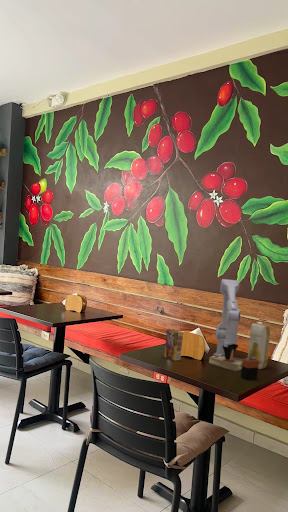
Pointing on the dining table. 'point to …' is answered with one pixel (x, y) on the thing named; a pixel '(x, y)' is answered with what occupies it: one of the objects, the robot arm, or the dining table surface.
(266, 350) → the juice carton
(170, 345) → the candy box
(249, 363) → the battery
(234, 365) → the tray
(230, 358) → the peg
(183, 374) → the dining table surface
